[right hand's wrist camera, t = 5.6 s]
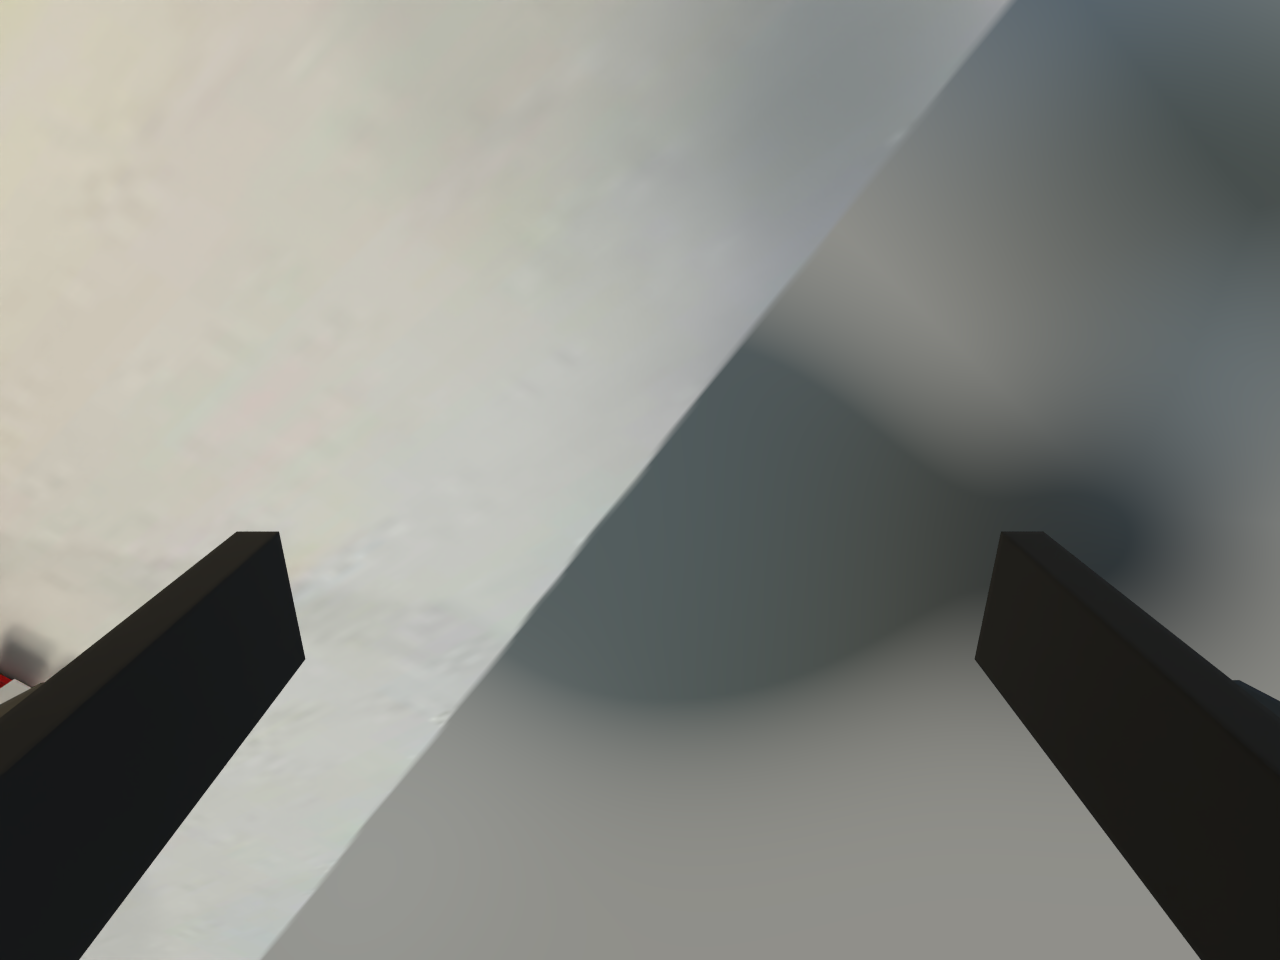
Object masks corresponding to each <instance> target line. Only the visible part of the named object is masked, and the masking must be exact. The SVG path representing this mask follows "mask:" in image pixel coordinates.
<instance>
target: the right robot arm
mask: <svg viewBox="0 0 1280 960" xmlns="http://www.w3.org/2000/svg"><path fill="white" fill-rule="evenodd" d="M304 660H305V655H304V650H303V646H302V641H301V636H300V631H299V626H298V621H297V617H296V612H295V607H294V602H293V597H292V592H291V588H290V583H289V578H288V573H287V568H286V563H285V559H284V554H283V549H282V544H281V539H280V534H279V532H236V533H234V534H233V535H232V536H231V537H229V538H228V539H227V540H226V541H224V542H223V543H222V544H220V545H219V546H218V547H217V548H215V549H214V550H213V551H212V552H210V553H209V554H208V555H206V556H205V557H204V558H203V559H201V560H200V561H199V562H198V563H196V564H195V565H194V566H192V567H191V568H190V569H189V570H187V571H186V572H185V573H184V574H182V575H181V576H180V577H179V578H177V579H176V580H175V581H173V582H172V583H171V584H170V585H168V586H167V587H166V588H165V589H163V590H162V591H161V592H159V593H158V594H157V595H156V596H154V597H153V598H152V599H151V600H149V601H148V602H147V603H145V604H144V605H143V606H142V607H140V608H139V609H138V610H137V611H135V612H134V613H133V614H131V615H130V616H129V617H128V618H126V619H125V620H124V621H123V622H121V623H120V624H119V625H117V626H116V627H115V628H114V629H112V630H111V631H110V632H109V633H107V634H106V635H105V636H104V637H102V638H101V639H100V640H98V641H97V642H96V643H95V644H93V645H92V646H91V647H90V648H88V649H87V650H86V651H84V652H83V653H82V654H81V655H79V656H78V657H77V658H76V659H74V660H73V661H72V662H70V663H69V664H68V665H67V666H65V667H64V668H63V669H62V670H60V671H59V672H58V673H56V674H55V675H54V676H53V677H51V678H50V679H49V680H48V681H46V682H45V683H40V684H38V685H36V686H34V687H32V688H30V689H29V690H27V691H25V692H23V693H21V694H19V695H17V696H15V697H13V698H11V699H9V700H8V701H6V702H4V703H2V704H0V960H79V959H80V958H81V956H82V955H83V954H84V952H85V951H86V950H87V949H88V947H89V946H90V945H91V943H92V942H93V941H94V939H95V938H96V937H97V935H98V934H99V933H100V931H101V930H102V929H103V927H104V926H105V925H106V923H107V922H108V921H109V919H110V918H111V917H112V915H113V914H114V913H115V911H116V910H117V909H118V907H119V906H120V905H121V903H122V902H123V901H124V899H125V898H126V897H127V895H128V894H129V893H130V891H131V890H132V889H133V887H134V886H135V885H136V883H137V882H138V881H139V879H140V878H141V877H142V875H143V874H144V873H145V871H146V870H147V869H148V867H149V866H150V865H151V863H152V862H153V861H154V859H155V858H156V857H157V855H158V854H159V853H160V852H161V850H162V849H163V848H164V846H165V845H166V844H167V842H168V841H169V840H170V838H171V837H172V836H173V834H174V833H175V832H176V830H177V829H178V828H179V826H180V825H181V824H182V822H183V821H184V820H185V818H186V817H187V816H188V814H189V813H190V812H191V810H192V809H193V808H194V806H195V805H196V804H197V802H198V801H199V800H200V798H201V797H202V796H203V794H204V793H205V792H206V790H207V789H208V788H209V786H210V785H211V784H212V782H213V781H214V780H215V778H216V777H217V776H218V774H219V773H220V772H221V770H222V769H223V768H224V766H225V765H226V764H227V762H228V761H229V760H230V759H231V757H232V756H233V755H234V753H235V752H236V751H237V749H238V748H239V747H240V745H241V744H242V743H243V741H244V740H245V739H246V737H247V736H248V735H249V733H250V732H251V731H252V729H253V728H254V727H255V725H256V724H257V723H258V721H259V720H260V719H261V717H262V716H263V715H264V713H265V712H266V711H267V709H268V708H269V707H270V705H271V704H272V703H273V701H274V700H275V699H276V697H277V696H278V695H279V693H280V692H281V691H282V689H283V688H284V687H285V685H286V684H287V683H288V681H289V680H290V679H291V677H292V676H293V675H294V673H295V672H296V671H297V669H298V668H299V667H300V666H301V664H302V663H303V662H304ZM975 660H976V662H977V663H978V664H979V666H980V667H981V668H982V669H983V671H984V672H985V673H986V675H987V676H988V677H989V679H990V680H991V681H992V683H993V684H994V685H995V687H996V688H997V689H998V691H999V692H1000V693H1001V695H1002V696H1003V697H1004V699H1005V700H1006V701H1007V703H1008V704H1009V705H1010V707H1011V708H1012V709H1013V711H1014V712H1015V713H1016V715H1017V716H1018V717H1019V719H1020V720H1021V721H1022V723H1023V724H1024V725H1025V727H1026V728H1027V729H1028V731H1029V732H1030V733H1031V735H1032V736H1033V737H1034V739H1035V740H1036V741H1037V743H1038V744H1039V745H1040V747H1041V748H1042V749H1043V751H1044V752H1045V753H1046V754H1047V756H1048V757H1049V759H1050V760H1051V761H1052V762H1053V764H1054V765H1055V766H1056V768H1057V769H1058V770H1059V772H1060V773H1061V774H1062V776H1063V777H1064V778H1065V780H1066V781H1067V782H1068V784H1069V785H1070V786H1071V788H1072V789H1073V790H1074V792H1075V793H1076V794H1077V796H1078V797H1079V798H1080V800H1081V801H1082V802H1083V804H1084V805H1085V806H1086V808H1087V809H1088V810H1089V812H1090V813H1091V814H1092V816H1093V817H1094V818H1095V820H1096V821H1097V822H1098V824H1099V825H1100V826H1101V828H1102V829H1103V830H1104V832H1105V833H1106V834H1107V836H1108V837H1109V838H1110V840H1111V841H1112V842H1113V844H1114V845H1115V846H1116V848H1117V849H1118V850H1119V852H1120V853H1121V854H1122V855H1123V857H1124V858H1125V859H1126V861H1127V862H1128V863H1129V865H1130V866H1131V867H1132V869H1133V870H1134V871H1135V873H1136V874H1137V875H1138V877H1139V878H1140V879H1141V881H1142V882H1143V883H1144V885H1145V886H1146V887H1147V889H1148V890H1149V891H1150V893H1151V894H1152V895H1153V897H1154V898H1155V899H1156V901H1157V902H1158V903H1159V905H1160V906H1161V907H1162V909H1163V910H1164V911H1165V913H1166V914H1167V915H1168V917H1169V918H1170V919H1171V921H1172V922H1173V923H1174V925H1175V926H1176V927H1177V929H1178V930H1179V931H1180V933H1181V934H1182V935H1183V937H1184V938H1185V939H1186V941H1187V942H1188V943H1189V944H1190V946H1191V947H1192V948H1193V950H1194V951H1195V952H1196V954H1197V955H1198V956H1199V958H1200V959H1201V960H1280V701H1278V700H1276V699H1274V698H1272V697H1271V696H1269V695H1267V694H1265V693H1263V692H1261V691H1259V690H1257V689H1255V688H1253V687H1251V686H1249V685H1247V684H1246V683H1244V682H1242V681H1240V680H1231V679H1230V678H1229V677H1227V676H1226V675H1225V674H1224V673H1222V672H1221V671H1220V670H1218V669H1217V668H1216V667H1215V666H1213V665H1212V664H1211V663H1210V662H1208V661H1207V660H1206V659H1204V658H1203V657H1202V656H1201V655H1199V654H1198V653H1197V652H1196V651H1194V650H1193V649H1192V648H1190V647H1189V646H1188V645H1187V644H1185V643H1184V642H1183V641H1182V640H1180V639H1179V638H1178V637H1176V636H1175V635H1174V634H1173V633H1171V632H1170V631H1169V630H1168V629H1166V628H1165V627H1164V626H1163V625H1161V624H1160V623H1159V622H1157V621H1156V620H1155V619H1154V618H1152V617H1151V616H1150V615H1148V614H1147V613H1146V612H1145V611H1143V610H1142V609H1141V608H1140V607H1138V606H1137V605H1136V604H1135V603H1133V602H1132V601H1131V600H1129V599H1128V598H1127V597H1126V596H1124V595H1123V594H1122V593H1121V592H1119V591H1118V590H1117V589H1115V588H1114V587H1113V586H1112V585H1110V584H1109V583H1108V582H1107V581H1105V580H1104V579H1103V578H1101V577H1100V576H1099V575H1098V574H1096V573H1095V572H1094V571H1093V570H1091V569H1090V568H1089V567H1087V566H1086V565H1085V564H1084V563H1082V562H1081V561H1080V560H1079V559H1077V558H1076V557H1075V556H1074V555H1072V554H1071V553H1070V552H1068V551H1067V550H1066V549H1065V548H1063V547H1062V546H1061V545H1060V544H1058V543H1057V542H1056V541H1054V540H1053V539H1052V538H1051V537H1049V536H1048V535H1047V534H1046V533H1044V532H1001V535H1000V539H999V544H998V549H997V554H996V559H995V564H994V568H993V573H992V578H991V583H990V588H989V592H988V597H987V602H986V607H985V612H984V617H983V621H982V626H981V631H980V636H979V641H978V646H977V651H976V655H975Z"/></svg>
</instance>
